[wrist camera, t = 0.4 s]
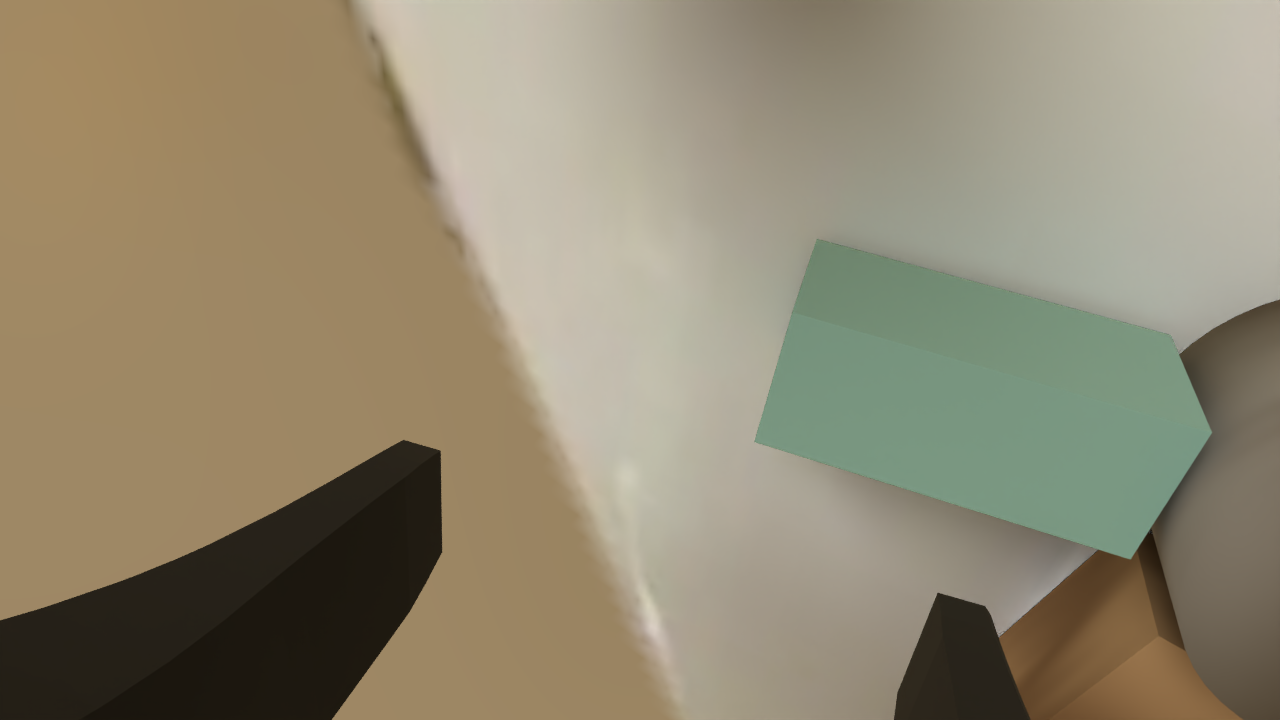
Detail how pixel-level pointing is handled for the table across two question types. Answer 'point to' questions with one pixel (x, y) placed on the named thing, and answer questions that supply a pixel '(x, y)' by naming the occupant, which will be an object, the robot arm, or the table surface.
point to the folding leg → (984, 398)
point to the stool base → (1181, 571)
